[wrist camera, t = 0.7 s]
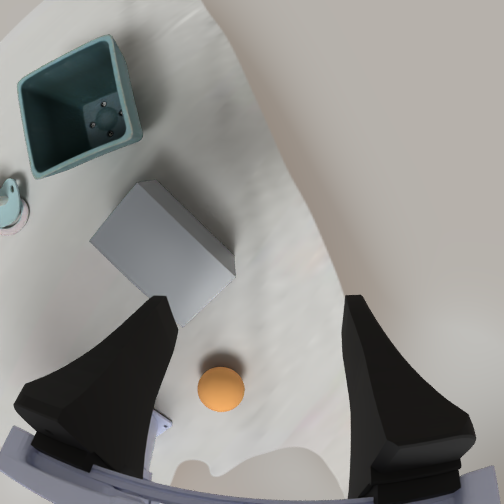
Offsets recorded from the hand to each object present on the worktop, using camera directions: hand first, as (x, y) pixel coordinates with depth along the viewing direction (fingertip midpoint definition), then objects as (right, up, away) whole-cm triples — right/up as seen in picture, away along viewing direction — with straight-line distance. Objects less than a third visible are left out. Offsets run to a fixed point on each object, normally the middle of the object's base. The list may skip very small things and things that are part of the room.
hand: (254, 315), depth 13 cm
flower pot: (-14, +15, +14) cm, 25 cm away
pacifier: (-27, +7, +16) cm, 32 cm away
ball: (-3, -12, +19) cm, 23 cm away
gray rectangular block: (-8, +4, +18) cm, 20 cm away
